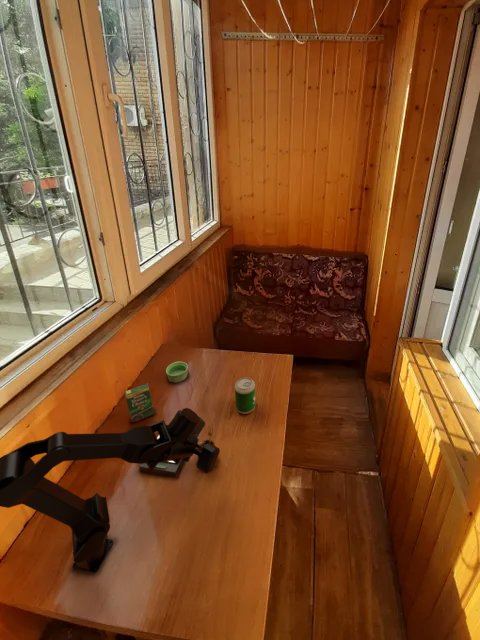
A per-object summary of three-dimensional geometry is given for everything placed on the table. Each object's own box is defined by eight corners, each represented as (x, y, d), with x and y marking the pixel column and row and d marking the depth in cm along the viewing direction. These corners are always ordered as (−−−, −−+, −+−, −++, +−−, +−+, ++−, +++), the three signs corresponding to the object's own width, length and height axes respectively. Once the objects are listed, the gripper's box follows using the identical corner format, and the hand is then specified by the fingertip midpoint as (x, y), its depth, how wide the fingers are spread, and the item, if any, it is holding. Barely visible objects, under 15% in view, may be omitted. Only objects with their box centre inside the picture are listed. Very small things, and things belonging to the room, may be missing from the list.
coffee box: (130, 424, 113) (124, 396, 108) (130, 418, 115) (124, 390, 110) (154, 414, 117) (149, 387, 112) (153, 409, 119) (148, 382, 114)
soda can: (252, 417, 116) (251, 392, 112) (233, 413, 117) (231, 388, 113) (258, 401, 123) (257, 377, 119) (240, 398, 124) (238, 374, 120)
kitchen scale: (176, 476, 95) (175, 471, 94) (139, 471, 97) (138, 465, 96) (195, 436, 108) (194, 431, 107) (163, 432, 110) (162, 426, 109)
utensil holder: (194, 468, 98) (191, 440, 94) (205, 450, 103) (202, 423, 99) (211, 474, 96) (208, 446, 92) (221, 456, 101) (219, 428, 97)
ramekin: (167, 371, 139) (166, 363, 137) (188, 367, 141) (187, 359, 140) (166, 385, 131) (165, 377, 129) (188, 381, 133) (187, 373, 132)
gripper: (212, 430, 82) (239, 429, 95) (163, 403, 90) (194, 406, 103) (193, 478, 78) (224, 470, 91) (143, 445, 86) (178, 442, 99)
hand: (205, 445), depth 96 cm, fingers open, 9 cm apart
